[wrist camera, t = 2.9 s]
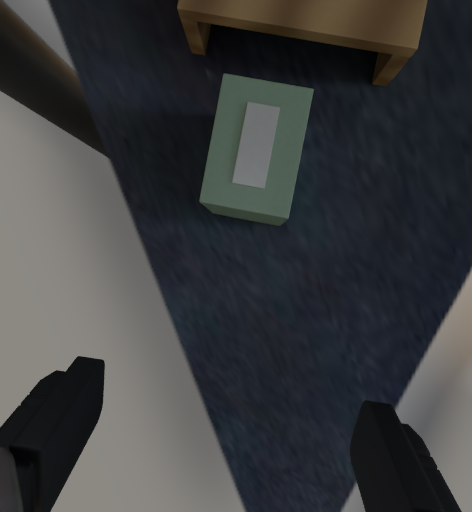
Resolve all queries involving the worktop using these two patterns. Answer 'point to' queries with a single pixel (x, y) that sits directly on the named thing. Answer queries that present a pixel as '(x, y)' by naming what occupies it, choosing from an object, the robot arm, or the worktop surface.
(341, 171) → the worktop surface
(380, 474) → the robot arm
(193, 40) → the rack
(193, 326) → the worktop surface
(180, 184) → the worktop surface
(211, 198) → the tissue box
